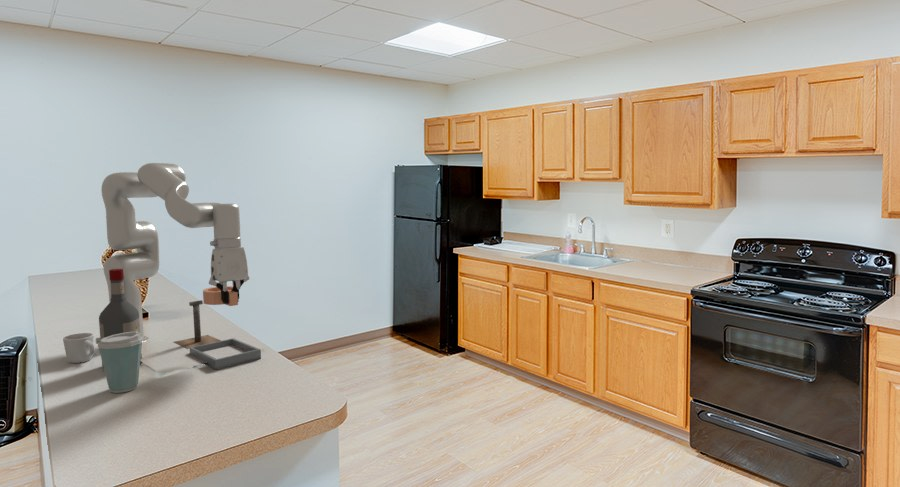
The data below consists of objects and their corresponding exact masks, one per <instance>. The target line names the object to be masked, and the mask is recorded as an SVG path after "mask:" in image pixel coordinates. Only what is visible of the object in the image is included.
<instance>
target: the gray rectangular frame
mask: <svg viewBox="0 0 900 487" xmlns="http://www.w3.org/2000/svg"><path fill="white" fill-rule="evenodd" d="M232 345H233V346H235V347H238V348H240V349H242V350H245V352H241V353H237V354H232V355H229V356H223V357H220V358H216V357H213V356H211V355H209V354H207V353H205V351H211V350H213V349H219V348H222V347H228V346H232ZM261 352H262V350H261V349H260V348H258V347H256V346H253V345H250V344H248V343H245V342H243V341H240V340H239V339H236V338H229V339H224V340H221V341H219V342H214V343H209V344H205V345H200V346H195V347H191V348H190V349H189V354H190V355H192V356H194V357H196V358H198V359H201V360H203V361H204V362H203V363H202V364H204V365H206V366H207V367H209V368H211V369H213V370H215V371H217V370H220V369H224V368H228V367H233V366H237V365H239V364H240V365H241V364H245V363H249V362H252V361H256V360H260V359H261V358H262V356H261V355H262V353H261Z"/></svg>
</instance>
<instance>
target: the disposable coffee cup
mask: <svg viewBox="0 0 900 487" xmlns="http://www.w3.org/2000/svg"><path fill="white" fill-rule="evenodd" d="M143 343H144V342H143V338H142V337H141V336H140V333H139V332H126V333H120V334H115V335H111V336H108V337H105V338H103V339H101V340H100V341H99V342H98V344H97V347H98V350H99V351H98V352H99V354H100V359H101V364H102V363H103V367H104V368H103V367H102V368H103V371H104V374H105V378H106V383H107V386H108V389H109V390H110V392H111V393H115V394H118V393H120V394H121V393H126V392H130V391H132V390H135V389H137V387H138V384H139V377H140V368H141V367H140V366H141V362H140V361H141V360H142V359H141V354H142V350H143V349H142V348H143V347H142V346H143ZM140 359H141V360H140Z"/></svg>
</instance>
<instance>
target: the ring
mask: <svg viewBox="0 0 900 487" xmlns="http://www.w3.org/2000/svg"><path fill="white" fill-rule="evenodd" d="M231 289H233V285H232V286H229V285H227V291H229V304H225V303H223V301H222V300H221V290H219V289H218V288H217V287H216V286H211V287H208V288H204V289H203V290H202V298H203V299H202V301H203V304H205V305H207V306H208V305H209V306H218V305H219V306H220V305H226V306H228V307H234V306H238V305H239V302H238V300H239V299H238V293H237V292H234V291H231Z"/></svg>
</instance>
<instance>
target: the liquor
mask: <svg viewBox="0 0 900 487" xmlns="http://www.w3.org/2000/svg"><path fill="white" fill-rule="evenodd" d="M109 276H110V281H111V299H110V301H111V302H109V303H108V304H107V305H106V306H105V307H104V309H103V310H102V311H101V312H100V314H99V315H98V316H99V317H98V326H99V337H100V340H101V339H103V338H105V337H108V336H111V335H115V334H120V333H126V332H139V333H140V323H139V312H138V310H137V309H136V308H135V307H134V306H133V305H132V304H130V303H129V302H128V301H127V300H126V297H125V294H124V282H123V279H124V274H123V269H111V270H109ZM142 359H143V358H142V353H141V359H140V363H141V362H142ZM101 366H102V368H103V369H104V367H103V363H102V362H101Z"/></svg>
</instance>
